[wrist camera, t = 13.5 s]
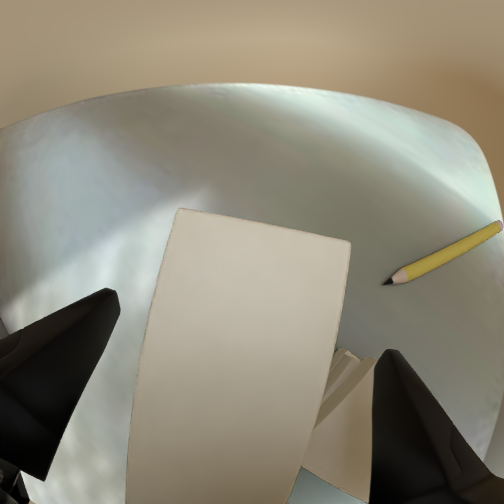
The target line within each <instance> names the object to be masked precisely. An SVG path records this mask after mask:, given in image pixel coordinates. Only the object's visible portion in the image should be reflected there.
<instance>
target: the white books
mask: <svg viewBox="0 0 504 504" xmlns="http://www.w3.org/2000/svg"><path fill="white" fill-rule="evenodd" d="M377 361H378V360H377V359H374V358H370V357H367V356H366V357H365V358H364V359H363V360H362V361H361V360H359V359H358V358H357V357H356V356H354V355H353V354H352V353H351V352H350V351H348V350H346V349H342V348H339V349H338V350H337V351H336V352H335V354H334V355H333V358H332V362H331V367H330V371H329V375H328V379H327V383H326V387H325V391H324V395H323V398H322V402H321V405H320V409H319V413H318V416H317V419H316V423H315V426H314V429H313V432H312V436H311V439H310V442H309V445H308V448H307V451H306V454H305V456H304V459H303V462H302V465H301V466H302V467H303V468H305V469H307V470H308V471H310V472H311V473H313V474H315V475H316V476H318V477H319V478H321V479H323V480H324V481H326V482H328V483H330V484H331V485H333V486H335V487H337V488H338V489H340V490H342V491H344V492H346V493H348V494H350V495H351V496H353V497H355V498H357V499H359V500H361V501H363V502H365V503H367V504H368V503H369V492H370V478H371V457H372V396H373V379H374V367H375V364H376V363H377Z"/></svg>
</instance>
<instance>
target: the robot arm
mask: <svg viewBox="0 0 504 504" xmlns="http://www.w3.org/2000/svg"><path fill="white" fill-rule="evenodd" d="M119 315H120V304H119V299H118V295H117V292H116V291H115V290H112V289H109V288H104V289H101V290H99V291H97V292H95V293H93V294H91V295H89V296H87V297H85V298H83V299H81V300H78V301H76V302H74V303H72V304H70V305H68V306H66V307H64V308H62V309H60V310H58V311H56V312H54V313H52V314H50V315H48V316H46V317H44V318H42V319H40V320H38V321H36V322H34V323H32V324H30V325H28V326H26V327H24V328H23V329H20V330H18V331H17V332H15V333H13V334H11V335H9V336H7V337H5V338H2V339H0V504H28V503H29V501H30V499H29V496H28V493H27V490H26V488H25V485H24V481H23V478H22V475H21V473H20V472H21V471H23V472H25V473H27V474H29V475H31V476H33V477H35V478H37V479H39V480H41V481H43V482H44V481H45V480H46V477H47V474H48V471H49V469H50V466H51V463H52V461H53V458H54V456H55V453H56V451H57V448H58V446H59V443H60V440H61V438H62V436H63V434H64V431H65V429H66V427H67V424H68V422H69V420H70V418H71V416H72V413H73V411H74V409H75V407H76V405H77V403H78V401H79V399H80V397H81V395H82V392H83V390H84V388H85V386H86V384H87V382H88V380H89V379H90V377H91V375H92V373H93V371H94V369H95V367H96V365H97V363H98V361H99V359H100V358H101V356H102V354H103V352H104V350H105V348H106V345H107V343H108V341H109V338H110V336H111V333H112V331H113V329H114V327H115V324H116V322H117V320H118V317H119ZM368 504H504V479H503V478H500V477H497V476H495V475H494V474H492V473H491V472H490V471H489V469H488V468H487V467H486V466H485V464H484V463H483V462H482V461H481V460H480V458H479V457H478V456H477V455H476V453H475V452H474V451H473V450H472V448H471V447H470V446H469V445H468V443H467V442H466V441H465V439H464V438H463V436H462V435H461V434H460V432H459V431H458V429H457V428H456V427H455V425H453V422H452V421H451V420H450V418H449V417H448V415H447V414H446V412H445V411H444V410H443V408H442V407H441V406H440V404H439V403H438V401H437V400H436V399H435V397H434V396H433V395H432V393H431V392H430V391H429V389H428V388H427V387H426V385H425V384H424V383H423V381H422V380H421V379H420V377H419V376H418V375H417V374H416V372H415V371H414V370H413V368H412V367H411V366H410V365H409V363H408V362H407V361H406V359H405V358H404V357H403V356H402V354H401V353H400V352H399V351H398V350H394V349H387V350H385V351H384V353H383V354H382V356H381V357H380V358H379V360H378V361H377V363H376V364H375V367H374V379H373V396H372V457H371V478H370V492H369V503H368Z"/></svg>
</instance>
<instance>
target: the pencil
mask: <svg viewBox="0 0 504 504" xmlns="http://www.w3.org/2000/svg"><path fill="white" fill-rule="evenodd" d="M502 229H503V224H502V222H501V221H500V220H497V221H495V222H493V223H492V224H490V225H488V226H487V227H485V228H483V229H481V230H479V231H477V232H475V233H473V234H472V235H470V236H468V237H466V238H464V239H462V240H460V241H458V242H456V243H454V244H452V245H450V246H448V247H446V248H444V249H442V250H440V251H437V252H435V253H433V254H431V255H429V256H427V257H425V258H423V259H420V260H418V261H416V262H414V263H412V264H409V265H407V266H405V267H403V268H400V269H399V270H398V271H397V272H396V273H395V274H394V275H393V276H392V277H390V278H389V279H388V280H387V281H386V282H385V283H384V284H383V285H386V284H397V283H406V282H408V281H410V280H412V279H414V278H417V277H419V276H421V275H423V274H425V273H427V272H429V271H431V270H433V269H435V268H437V267H439V266H440V265H442V264H444V263H446V262H448V261H450V260H452V259H454V258H455V257H457V256H459V255H461V254H463V253H465V252H466V251H468V250H470V249H472V248H473V247H475V246H477V245H479V244H480V243H482V242H484V241H485V240H487V239H489V238H490V237H492V236H494V235H495V234H497V233H499V232H500V231H502Z"/></svg>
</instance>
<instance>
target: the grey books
mask: <svg viewBox="0 0 504 504" xmlns="http://www.w3.org/2000/svg"><path fill="white" fill-rule="evenodd" d="M7 336H9V335H8V333H7V331H6V329H5V327H4V325H3V323H2V321H1V319H0V339H2V338H5V337H7Z"/></svg>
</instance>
